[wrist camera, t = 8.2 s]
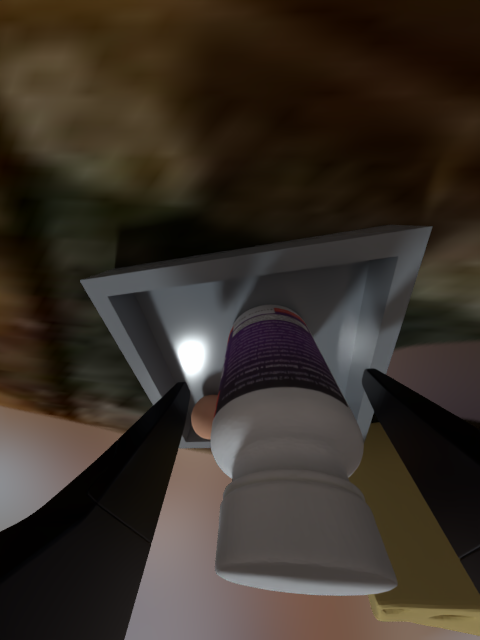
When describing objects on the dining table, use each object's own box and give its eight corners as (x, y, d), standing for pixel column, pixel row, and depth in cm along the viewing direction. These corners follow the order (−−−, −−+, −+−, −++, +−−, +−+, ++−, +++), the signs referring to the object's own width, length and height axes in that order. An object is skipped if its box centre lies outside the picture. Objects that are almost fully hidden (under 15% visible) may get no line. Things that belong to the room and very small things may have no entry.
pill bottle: (214, 325, 12) (130, 560, 4) (287, 286, 11) (427, 545, 2) (253, 375, 14) (254, 600, 6) (319, 350, 13) (452, 606, 4)
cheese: (324, 473, 23) (369, 628, 14) (315, 423, 18) (374, 613, 9) (417, 466, 21) (537, 643, 12) (435, 409, 16) (653, 633, 7)
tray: (388, 224, 9) (432, 226, 7) (348, 414, 17) (363, 444, 15) (114, 268, 11) (79, 280, 9) (187, 420, 19) (178, 448, 17)
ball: (229, 385, 15) (224, 422, 12) (235, 409, 17) (232, 447, 14) (192, 387, 15) (180, 424, 13) (202, 410, 17) (192, 448, 14)
